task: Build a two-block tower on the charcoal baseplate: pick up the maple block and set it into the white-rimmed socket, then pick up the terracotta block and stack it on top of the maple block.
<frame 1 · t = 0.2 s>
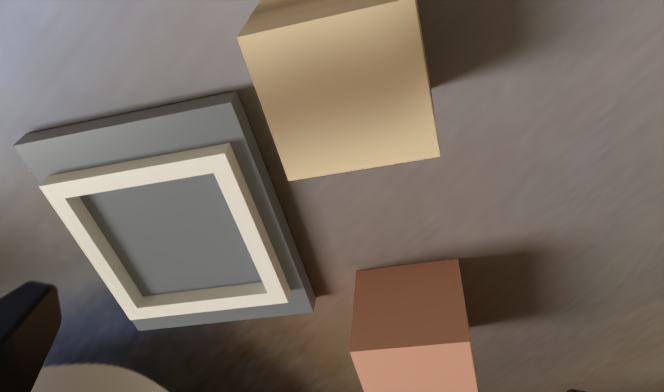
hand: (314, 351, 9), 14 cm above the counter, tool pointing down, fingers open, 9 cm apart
maple block: (353, 39, 20), on the counter
baseplate: (183, 223, 26), on the counter
terracotta block: (414, 298, 28), on the counter
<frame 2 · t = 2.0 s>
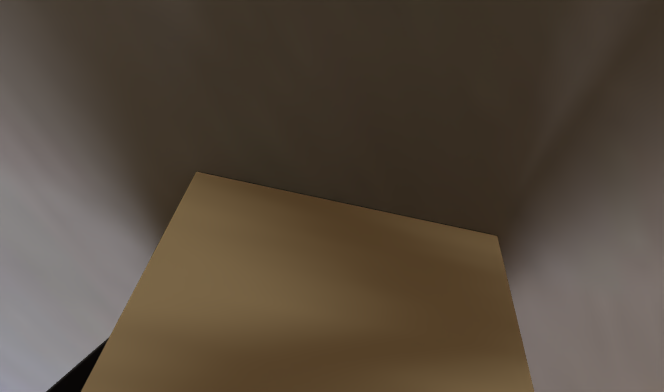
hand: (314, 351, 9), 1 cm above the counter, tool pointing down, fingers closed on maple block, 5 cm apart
maple block: (320, 305, 10), on the counter, touching gripper
when the fingers open (3 cm above the counter, at t = 6.2 s): maple block stays where it is, resting on baseplate.
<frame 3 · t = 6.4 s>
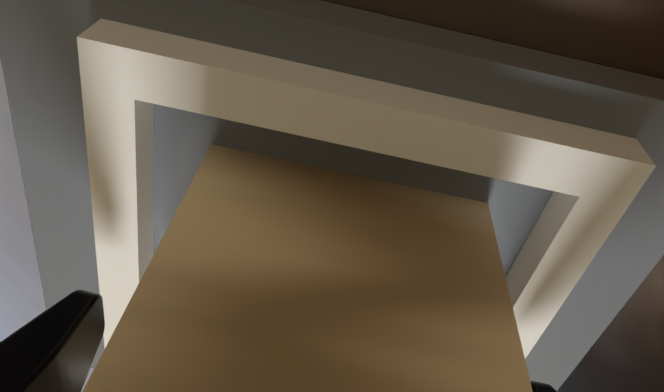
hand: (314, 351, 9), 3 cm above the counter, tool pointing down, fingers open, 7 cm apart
maple block: (325, 272, 11), point 1 cm above the counter, touching baseplate
baseplate: (328, 239, 12), on the counter
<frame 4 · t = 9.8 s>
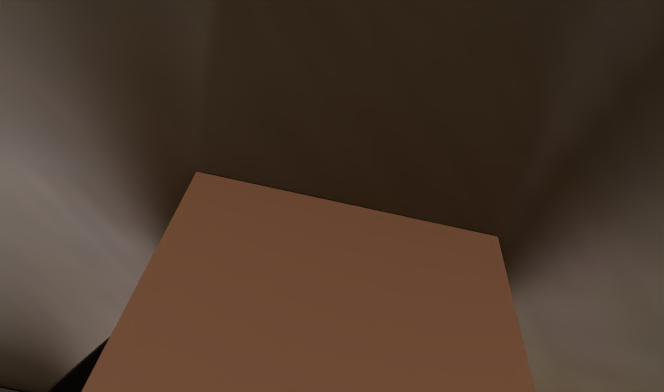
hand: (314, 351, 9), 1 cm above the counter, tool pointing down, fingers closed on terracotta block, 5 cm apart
terracotta block: (320, 306, 10), on the counter, touching gripper
when the fingers open (8 cm above the counter, at t = 13.0 s): terracotta block stays where it is, resting on maple block.
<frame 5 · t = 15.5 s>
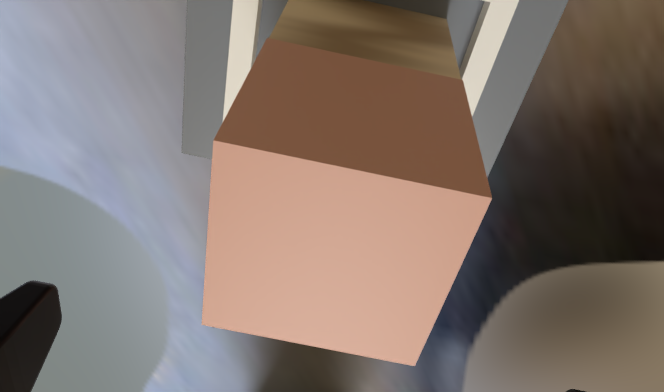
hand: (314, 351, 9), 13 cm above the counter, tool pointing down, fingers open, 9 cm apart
maple block: (355, 72, 19), point 1 cm above the counter, touching baseplate, terracotta block
baseplate: (356, 60, 20), on the counter
terracotta block: (345, 143, 15), point 6 cm above the counter, touching maple block
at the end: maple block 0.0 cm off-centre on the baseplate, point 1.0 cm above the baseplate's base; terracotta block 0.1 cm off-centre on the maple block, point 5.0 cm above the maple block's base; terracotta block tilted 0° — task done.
